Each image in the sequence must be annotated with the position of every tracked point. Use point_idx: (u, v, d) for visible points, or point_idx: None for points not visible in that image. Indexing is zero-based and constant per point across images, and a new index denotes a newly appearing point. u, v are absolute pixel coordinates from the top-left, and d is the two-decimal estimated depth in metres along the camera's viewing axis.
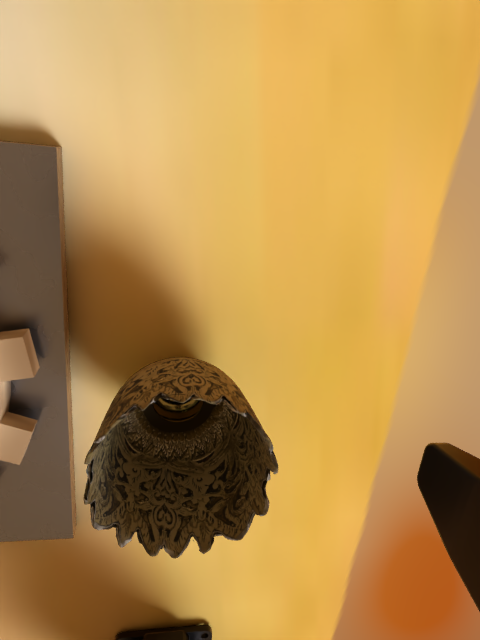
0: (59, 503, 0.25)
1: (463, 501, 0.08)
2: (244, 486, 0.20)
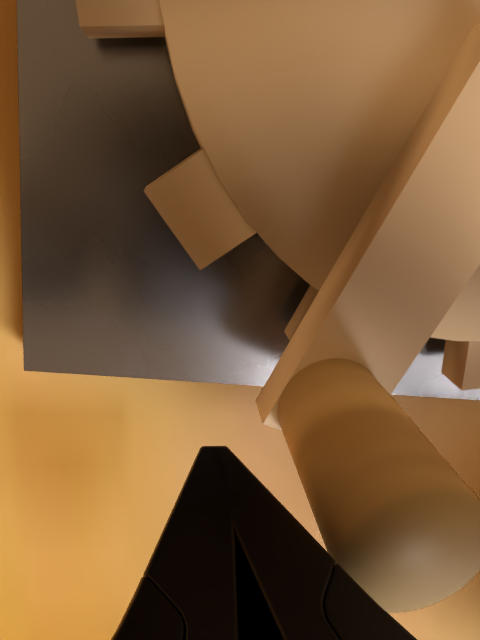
0: None
1: None
2: None
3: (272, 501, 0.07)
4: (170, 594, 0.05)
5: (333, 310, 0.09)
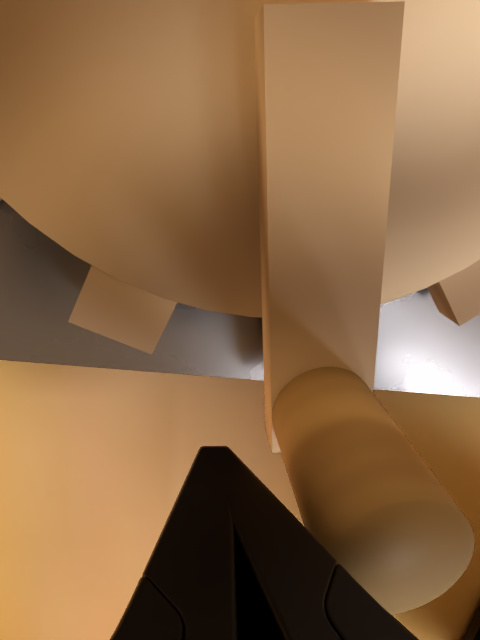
0: None
1: None
2: None
3: (273, 501, 0.07)
4: (169, 594, 0.05)
5: (272, 338, 0.10)
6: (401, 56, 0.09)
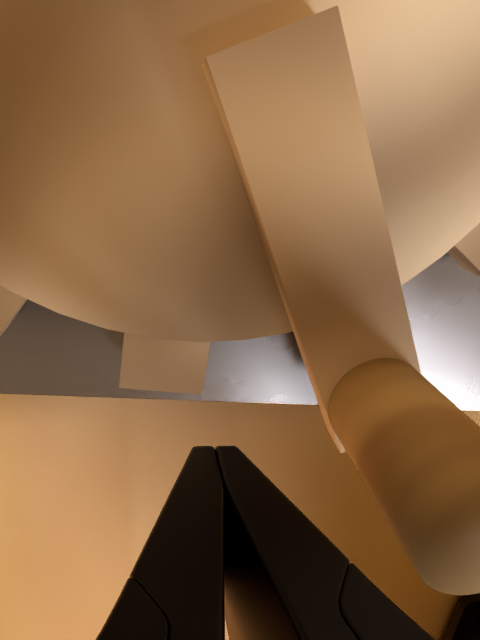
0: None
1: None
2: None
3: (284, 500, 0.07)
4: (156, 595, 0.05)
5: (307, 350, 0.10)
6: (351, 50, 0.09)
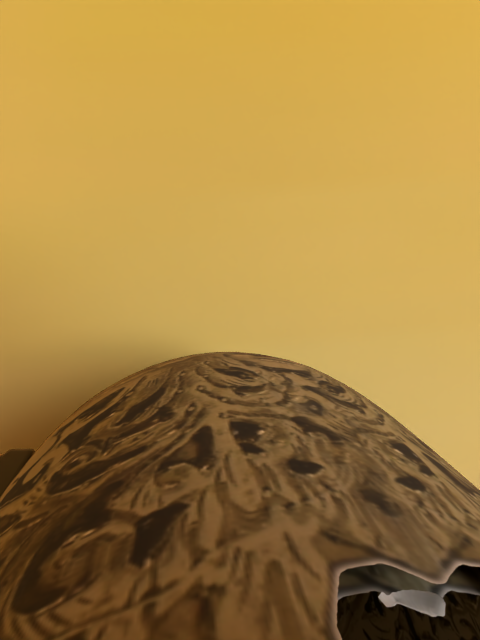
0: None
1: None
2: None
3: None
4: None
5: None
6: None
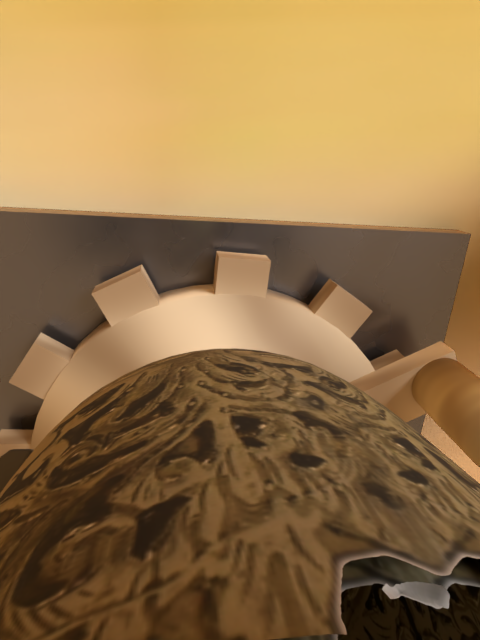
0: (414, 246, 0.19)
1: None
2: None
3: None
4: None
5: None
6: None
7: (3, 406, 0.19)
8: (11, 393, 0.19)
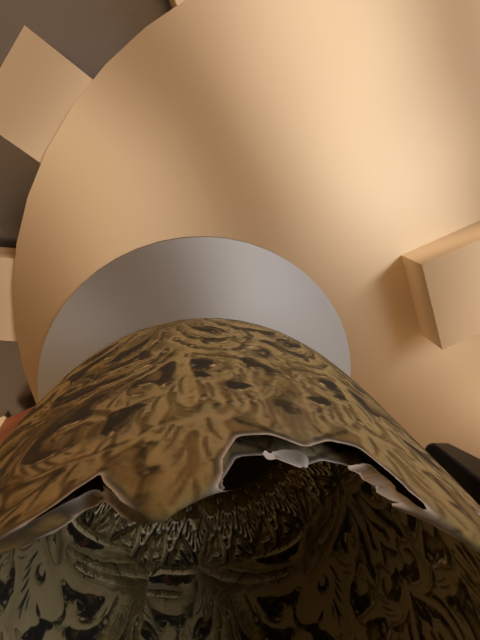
0: None
1: None
2: None
3: None
4: None
5: None
6: (421, 226, 0.11)
7: None
8: None
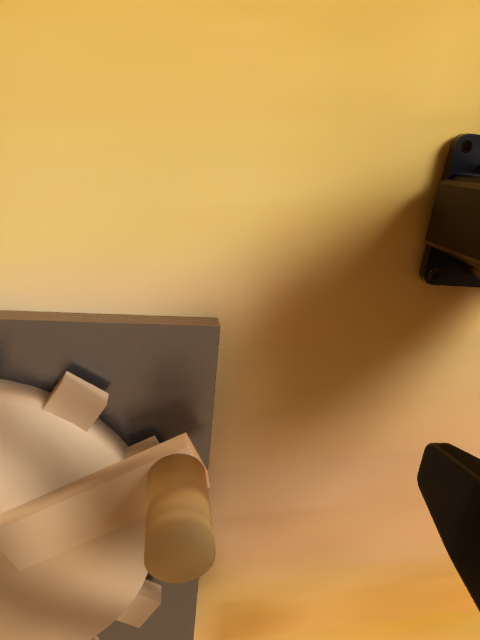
0: (160, 337, 0.19)
1: (463, 501, 0.08)
2: None
3: None
4: None
5: (145, 514, 0.19)
6: (3, 502, 0.19)
7: None
8: None
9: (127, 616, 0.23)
